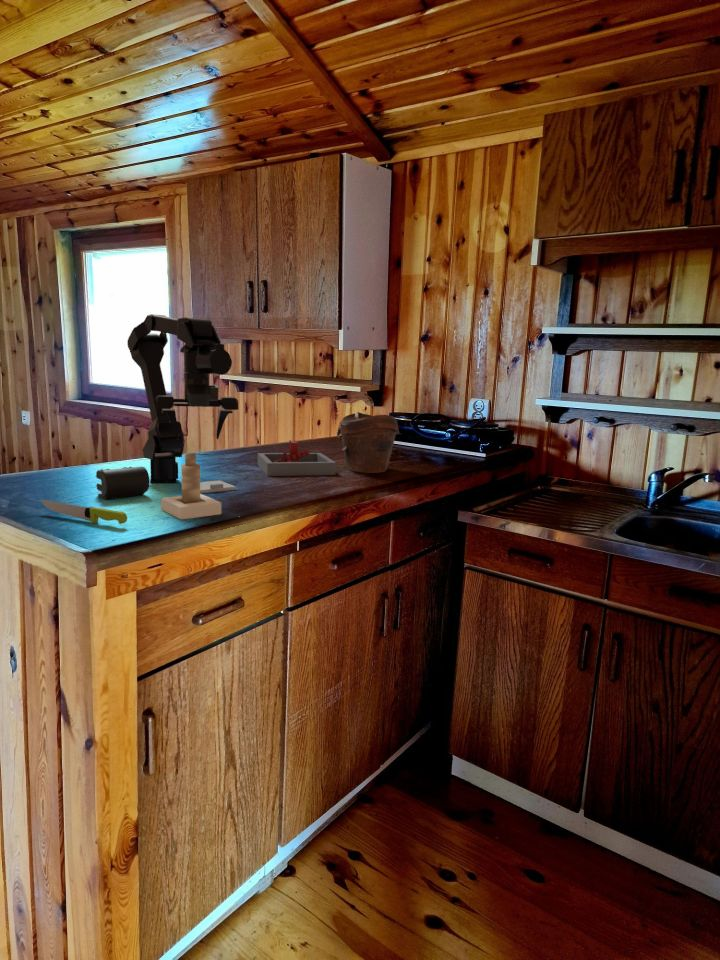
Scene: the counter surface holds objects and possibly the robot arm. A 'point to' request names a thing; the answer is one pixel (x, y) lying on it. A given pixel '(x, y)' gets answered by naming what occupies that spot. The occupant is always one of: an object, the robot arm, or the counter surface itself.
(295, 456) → the diorama
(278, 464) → the gray square tray
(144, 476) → the end cap
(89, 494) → the counter surface
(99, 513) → the kitchen knife
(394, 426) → the brown tapered pot
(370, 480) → the counter surface
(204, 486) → the lid panel
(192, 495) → the birch pin
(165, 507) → the white square socket base
